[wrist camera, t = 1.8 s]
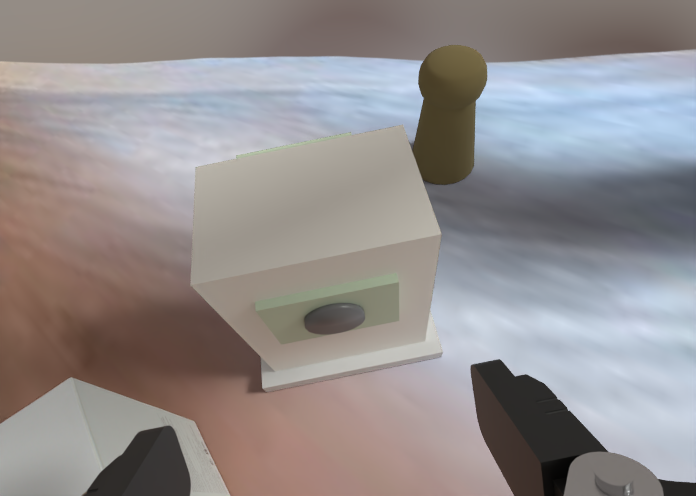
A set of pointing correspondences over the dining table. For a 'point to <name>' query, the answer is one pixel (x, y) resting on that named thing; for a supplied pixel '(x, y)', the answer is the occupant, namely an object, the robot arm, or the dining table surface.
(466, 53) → the cork
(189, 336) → the dining table surface
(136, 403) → the small box
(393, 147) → the housing
